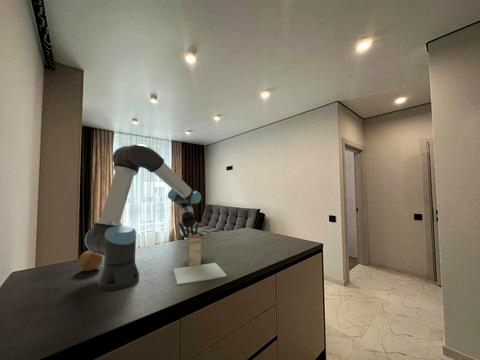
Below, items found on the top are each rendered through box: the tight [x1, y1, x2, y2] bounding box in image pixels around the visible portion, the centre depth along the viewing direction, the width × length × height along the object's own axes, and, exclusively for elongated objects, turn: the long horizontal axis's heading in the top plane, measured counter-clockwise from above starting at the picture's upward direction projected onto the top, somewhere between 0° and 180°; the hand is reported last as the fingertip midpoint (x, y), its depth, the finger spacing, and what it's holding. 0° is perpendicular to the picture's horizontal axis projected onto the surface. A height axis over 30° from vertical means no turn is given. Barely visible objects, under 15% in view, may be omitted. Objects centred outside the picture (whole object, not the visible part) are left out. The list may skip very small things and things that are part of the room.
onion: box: [77, 249, 103, 272], centre depth 102 cm, size 10×10×10 cm
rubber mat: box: [173, 262, 228, 286], centre depth 98 cm, size 18×22×1 cm
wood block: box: [187, 234, 202, 267], centre depth 111 cm, size 6×6×15 cm
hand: (191, 247), depth 118 cm, fingers closed
